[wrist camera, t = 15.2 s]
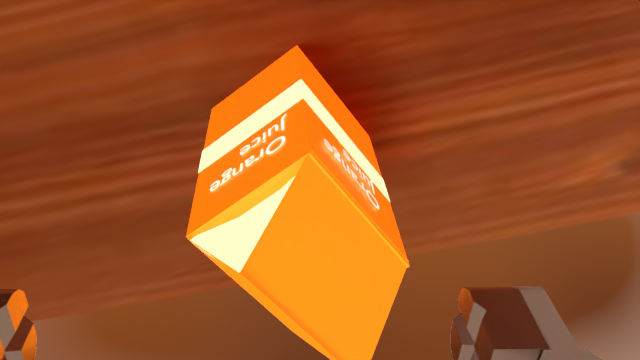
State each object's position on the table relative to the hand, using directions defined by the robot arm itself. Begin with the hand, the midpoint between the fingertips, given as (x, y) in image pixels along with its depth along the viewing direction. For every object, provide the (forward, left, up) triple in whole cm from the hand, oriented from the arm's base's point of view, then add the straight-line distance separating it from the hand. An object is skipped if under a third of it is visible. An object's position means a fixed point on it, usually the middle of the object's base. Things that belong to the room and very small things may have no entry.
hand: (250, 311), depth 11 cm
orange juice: (+7, -8, -29) cm, 31 cm away
